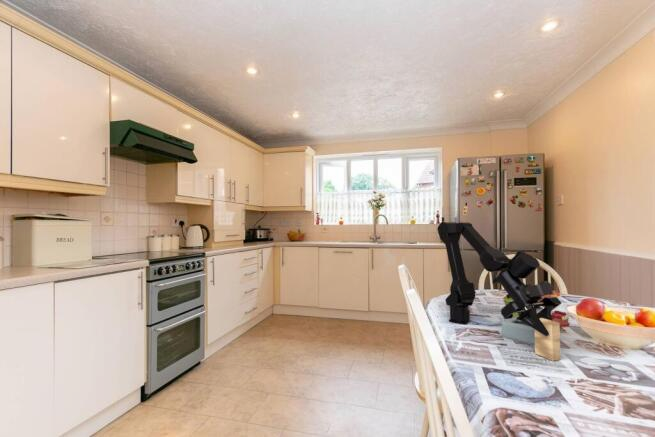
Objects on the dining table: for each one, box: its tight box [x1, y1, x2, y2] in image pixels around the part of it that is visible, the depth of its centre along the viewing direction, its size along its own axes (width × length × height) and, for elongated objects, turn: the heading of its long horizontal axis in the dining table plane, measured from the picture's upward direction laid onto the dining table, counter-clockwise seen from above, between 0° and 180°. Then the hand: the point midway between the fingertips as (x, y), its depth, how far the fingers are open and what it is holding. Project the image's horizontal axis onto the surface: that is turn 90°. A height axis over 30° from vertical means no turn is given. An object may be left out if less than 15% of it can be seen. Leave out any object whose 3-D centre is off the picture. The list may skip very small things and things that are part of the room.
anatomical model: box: [538, 289, 570, 328], centre depth 115 cm, size 10×8×15 cm
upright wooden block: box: [534, 318, 561, 362], centre depth 86 cm, size 5×3×10 cm, turn 19°
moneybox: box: [501, 317, 535, 346], centre depth 100 cm, size 11×9×5 cm
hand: (551, 334), depth 84 cm, fingers closed on upright wooden block, 3 cm apart
